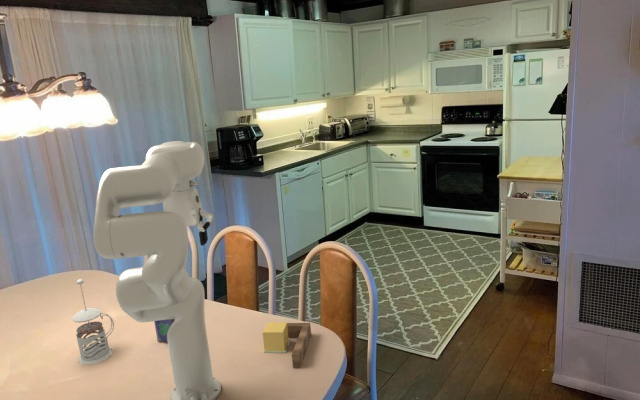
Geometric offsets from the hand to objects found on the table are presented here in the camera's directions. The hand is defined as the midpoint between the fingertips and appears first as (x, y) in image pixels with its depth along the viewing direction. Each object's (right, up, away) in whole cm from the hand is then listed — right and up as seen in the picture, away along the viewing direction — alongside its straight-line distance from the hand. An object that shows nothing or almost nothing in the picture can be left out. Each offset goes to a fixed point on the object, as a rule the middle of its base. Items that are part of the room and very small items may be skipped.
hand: (188, 244), depth 140 cm
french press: (-30, -35, +10) cm, 47 cm away
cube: (+25, -31, +6) cm, 40 cm away
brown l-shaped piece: (+28, -31, +3) cm, 42 cm away
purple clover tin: (-9, -32, +14) cm, 36 cm away
